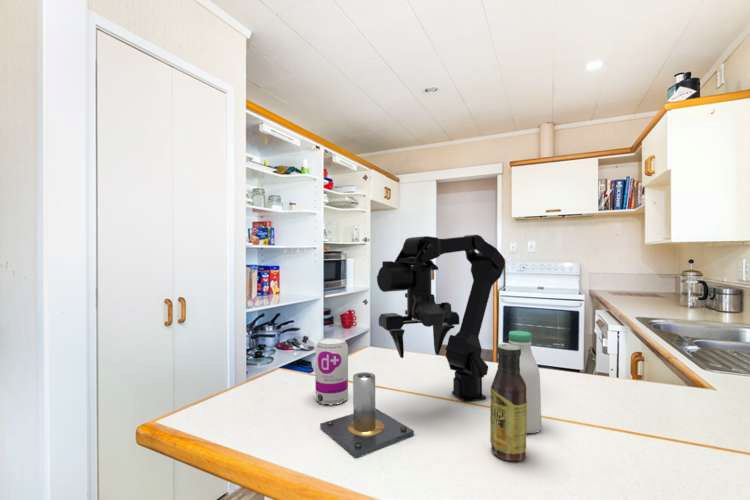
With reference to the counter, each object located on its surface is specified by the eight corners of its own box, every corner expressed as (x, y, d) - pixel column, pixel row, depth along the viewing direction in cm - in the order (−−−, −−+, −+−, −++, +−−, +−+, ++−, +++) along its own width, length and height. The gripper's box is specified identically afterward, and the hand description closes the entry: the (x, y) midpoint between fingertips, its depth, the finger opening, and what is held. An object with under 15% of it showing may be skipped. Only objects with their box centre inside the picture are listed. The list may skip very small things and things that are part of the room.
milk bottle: (539, 421, 79) (537, 330, 79) (543, 437, 71) (541, 337, 72) (501, 416, 81) (500, 327, 82) (502, 431, 74) (501, 334, 74)
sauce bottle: (485, 445, 68) (483, 341, 69) (516, 444, 69) (515, 341, 69) (500, 465, 62) (498, 350, 62) (534, 463, 62) (532, 349, 63)
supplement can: (342, 407, 86) (342, 345, 86) (310, 405, 88) (310, 343, 88) (351, 395, 94) (351, 337, 94) (322, 392, 96) (321, 336, 96)
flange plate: (374, 411, 84) (374, 405, 84) (413, 435, 72) (413, 428, 72) (320, 428, 76) (320, 421, 76) (355, 458, 64) (355, 450, 64)
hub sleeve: (377, 422, 76) (376, 372, 76) (373, 433, 71) (373, 379, 71) (356, 421, 76) (355, 371, 77) (351, 431, 72) (350, 378, 72)
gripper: (396, 294, 74) (396, 370, 73) (472, 291, 80) (473, 361, 80) (377, 289, 84) (378, 356, 84) (446, 287, 90) (447, 349, 90)
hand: (419, 355), depth 84 cm, fingers open, 9 cm apart
